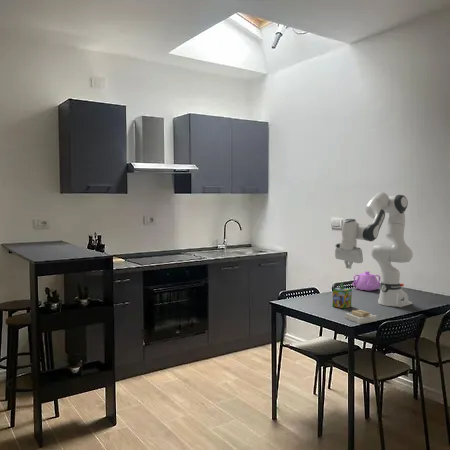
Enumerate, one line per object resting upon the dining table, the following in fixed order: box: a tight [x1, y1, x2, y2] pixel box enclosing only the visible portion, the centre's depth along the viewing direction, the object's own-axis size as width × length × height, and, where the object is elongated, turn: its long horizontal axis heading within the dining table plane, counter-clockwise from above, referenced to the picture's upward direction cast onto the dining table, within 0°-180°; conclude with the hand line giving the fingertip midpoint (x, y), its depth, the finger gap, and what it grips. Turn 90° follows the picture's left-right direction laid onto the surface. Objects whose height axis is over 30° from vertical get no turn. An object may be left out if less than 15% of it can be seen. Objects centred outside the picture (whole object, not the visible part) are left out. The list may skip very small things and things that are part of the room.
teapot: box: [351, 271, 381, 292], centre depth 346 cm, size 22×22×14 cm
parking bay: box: [344, 312, 378, 325], centre depth 263 cm, size 14×12×3 cm
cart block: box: [351, 309, 371, 317], centre depth 262 cm, size 6×8×5 cm
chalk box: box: [332, 283, 353, 310], centre depth 293 cm, size 9×9×15 cm
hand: (348, 268), depth 280 cm, fingers closed
